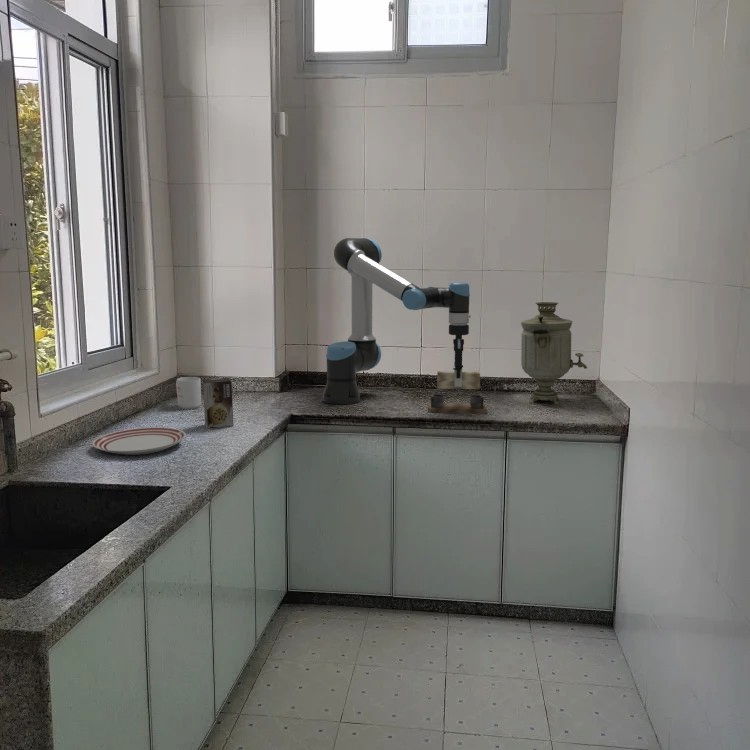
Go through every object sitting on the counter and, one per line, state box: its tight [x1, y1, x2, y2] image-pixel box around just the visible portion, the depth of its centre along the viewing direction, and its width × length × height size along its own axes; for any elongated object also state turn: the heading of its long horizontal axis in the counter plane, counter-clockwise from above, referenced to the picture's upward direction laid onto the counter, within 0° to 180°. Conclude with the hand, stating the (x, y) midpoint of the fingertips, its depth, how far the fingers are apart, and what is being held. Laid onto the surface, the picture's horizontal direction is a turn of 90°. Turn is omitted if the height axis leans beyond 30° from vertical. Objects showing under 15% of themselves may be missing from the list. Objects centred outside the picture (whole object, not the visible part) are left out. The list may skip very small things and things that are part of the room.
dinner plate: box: [91, 426, 187, 456], centre depth 221 cm, size 27×27×3 cm
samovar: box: [520, 301, 588, 406], centre depth 285 cm, size 30×26×40 cm
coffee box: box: [202, 377, 234, 429], centre depth 247 cm, size 9×6×16 cm
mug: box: [175, 376, 202, 410], centre depth 277 cm, size 12×9×11 cm
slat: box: [436, 371, 481, 390], centre depth 272 cm, size 16×4×6 cm, turn 86°
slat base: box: [427, 393, 488, 415], centre depth 274 cm, size 22×10×6 cm, turn 85°
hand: (457, 385), depth 273 cm, fingers closed on slat, 3 cm apart
